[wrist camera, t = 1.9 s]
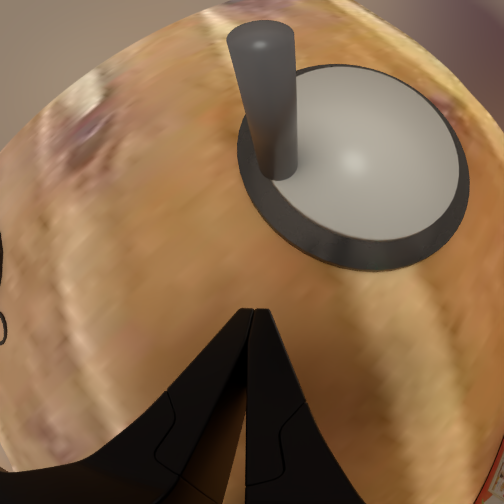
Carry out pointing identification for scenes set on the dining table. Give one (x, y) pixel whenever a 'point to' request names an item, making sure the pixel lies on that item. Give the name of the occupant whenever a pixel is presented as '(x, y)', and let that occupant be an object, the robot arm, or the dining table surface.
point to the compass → (0, 261)
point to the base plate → (338, 247)
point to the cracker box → (494, 482)
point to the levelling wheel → (343, 140)
